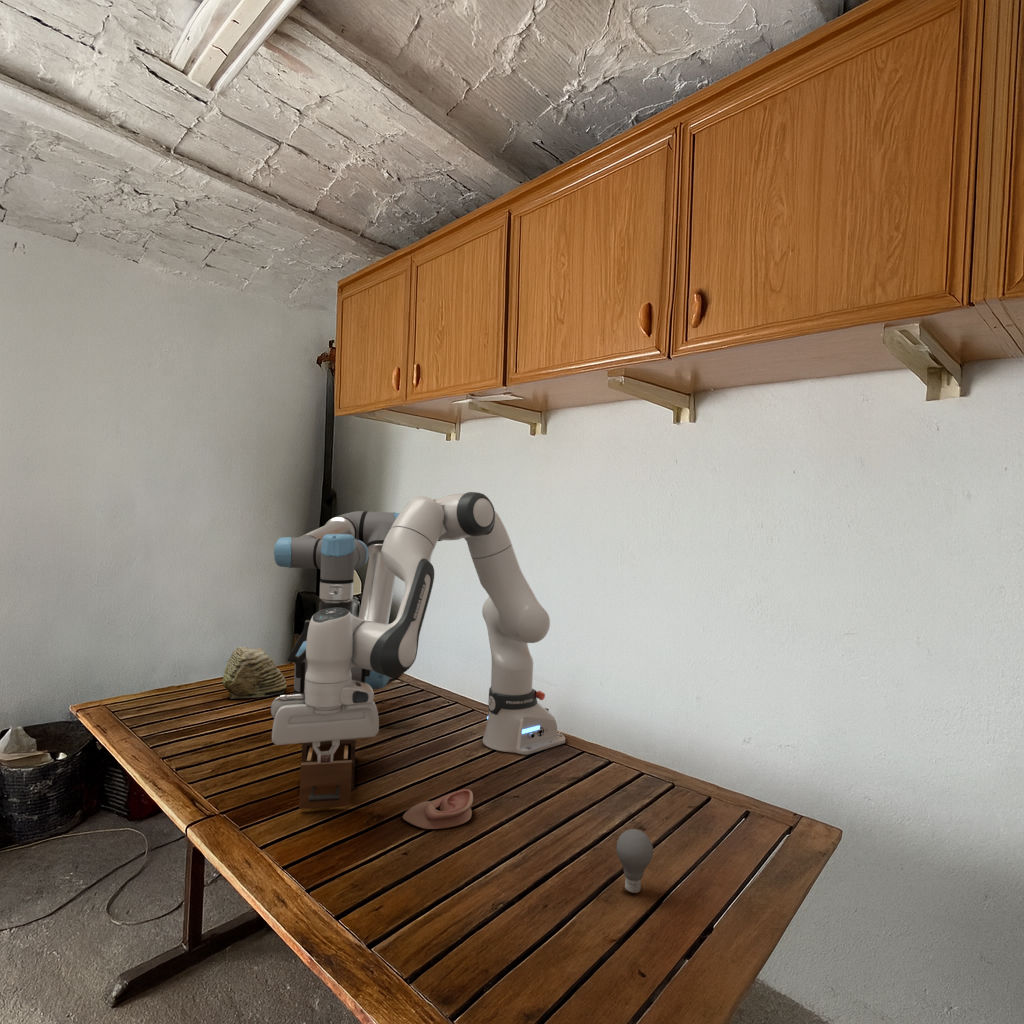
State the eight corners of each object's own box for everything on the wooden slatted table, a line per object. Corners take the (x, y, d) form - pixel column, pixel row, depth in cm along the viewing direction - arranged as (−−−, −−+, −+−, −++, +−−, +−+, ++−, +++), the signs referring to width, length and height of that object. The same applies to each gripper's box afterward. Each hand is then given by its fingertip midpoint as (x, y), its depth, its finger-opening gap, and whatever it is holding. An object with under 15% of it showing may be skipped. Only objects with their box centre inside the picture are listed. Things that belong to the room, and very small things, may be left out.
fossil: (218, 695, 195) (220, 647, 195) (278, 685, 208) (279, 640, 207) (228, 703, 189) (230, 653, 188) (289, 692, 201) (290, 645, 201)
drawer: (349, 818, 123) (351, 773, 123) (296, 822, 121) (298, 776, 121) (351, 774, 143) (353, 734, 143) (305, 776, 141) (307, 736, 141)
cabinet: (353, 788, 138) (355, 739, 138) (300, 792, 135) (302, 741, 135) (354, 758, 154) (356, 713, 154) (306, 760, 151) (308, 715, 151)
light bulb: (610, 879, 108) (613, 822, 108) (644, 879, 109) (647, 822, 109) (619, 902, 102) (622, 840, 102) (655, 901, 103) (658, 840, 103)
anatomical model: (397, 804, 123) (417, 779, 135) (396, 824, 123) (417, 798, 135) (462, 814, 121) (478, 788, 132) (462, 835, 121) (477, 807, 132)
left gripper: (277, 602, 141) (274, 697, 142) (391, 603, 147) (387, 694, 147) (281, 597, 149) (278, 687, 149) (389, 598, 154) (386, 684, 155)
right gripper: (271, 700, 118) (268, 774, 118) (381, 693, 125) (379, 762, 125) (271, 690, 124) (268, 760, 124) (377, 684, 131) (374, 750, 131)
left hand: (332, 690), depth 148 cm, fingers open, 13 cm apart
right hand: (325, 761), depth 125 cm, fingers closed
